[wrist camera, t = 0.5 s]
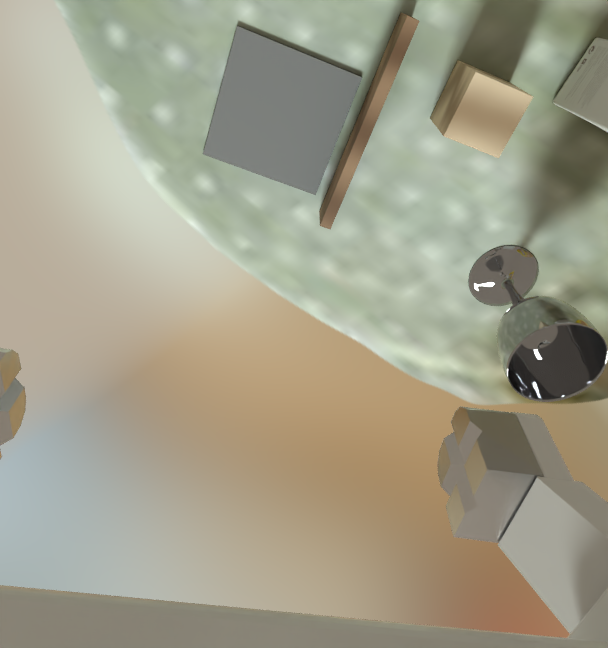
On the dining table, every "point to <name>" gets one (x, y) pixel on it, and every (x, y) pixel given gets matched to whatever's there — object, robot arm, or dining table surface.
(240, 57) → the mat
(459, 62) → the block
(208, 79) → the dining table surface
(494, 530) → the robot arm
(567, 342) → the wine glass
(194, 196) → the dining table surface
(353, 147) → the rail
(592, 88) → the skincare box
